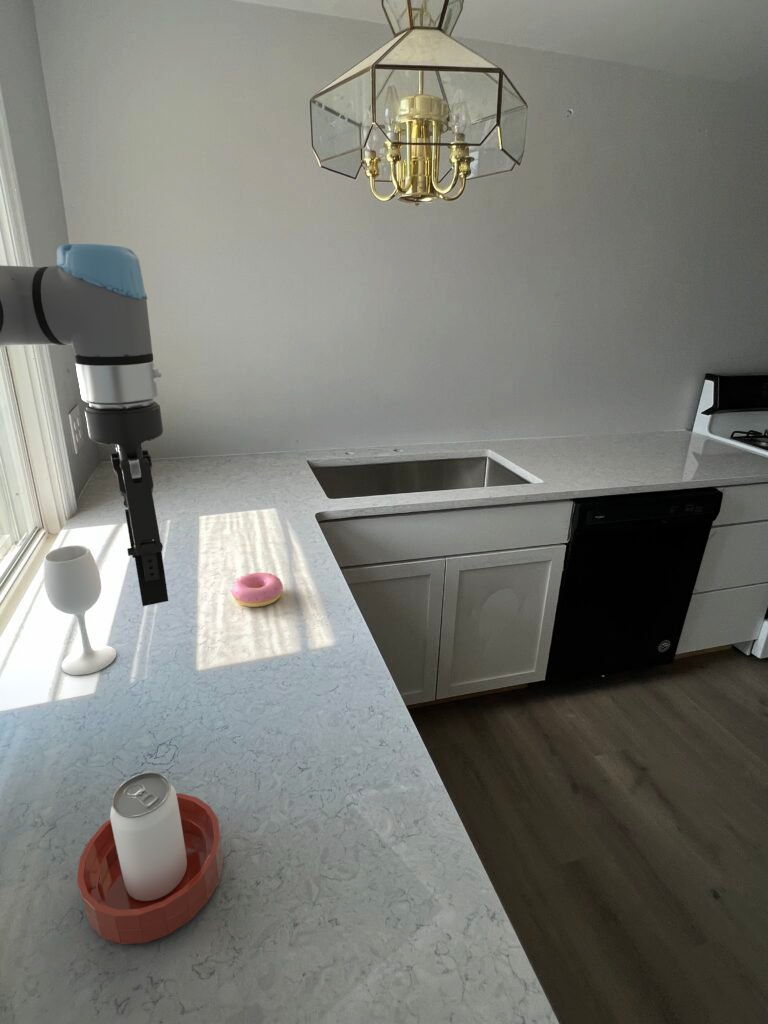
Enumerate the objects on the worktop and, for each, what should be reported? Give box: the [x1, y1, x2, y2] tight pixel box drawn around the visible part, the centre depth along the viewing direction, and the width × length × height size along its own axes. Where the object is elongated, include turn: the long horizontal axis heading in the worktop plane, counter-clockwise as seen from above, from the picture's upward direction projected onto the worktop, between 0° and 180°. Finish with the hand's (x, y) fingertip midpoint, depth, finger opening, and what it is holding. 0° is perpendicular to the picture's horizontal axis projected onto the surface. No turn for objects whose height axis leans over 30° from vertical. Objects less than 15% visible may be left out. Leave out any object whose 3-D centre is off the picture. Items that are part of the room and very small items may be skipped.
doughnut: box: [230, 572, 284, 608], centre depth 120 cm, size 11×11×4 cm
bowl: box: [76, 792, 224, 945], centre depth 61 cm, size 14×14×5 cm
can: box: [109, 771, 187, 901], centre depth 60 cm, size 6×6×12 cm
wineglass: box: [43, 545, 117, 676], centre depth 95 cm, size 9×9×21 cm
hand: (149, 576), depth 68 cm, fingers open, 13 cm apart
